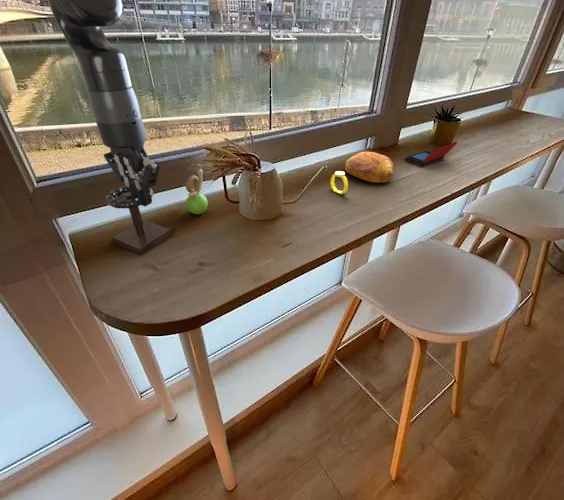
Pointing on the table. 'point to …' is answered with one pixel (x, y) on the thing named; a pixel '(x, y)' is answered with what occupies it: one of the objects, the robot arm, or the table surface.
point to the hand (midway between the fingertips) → (143, 202)
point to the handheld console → (430, 155)
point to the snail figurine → (196, 194)
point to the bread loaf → (370, 167)
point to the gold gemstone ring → (342, 175)
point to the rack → (140, 232)
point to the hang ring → (123, 203)
